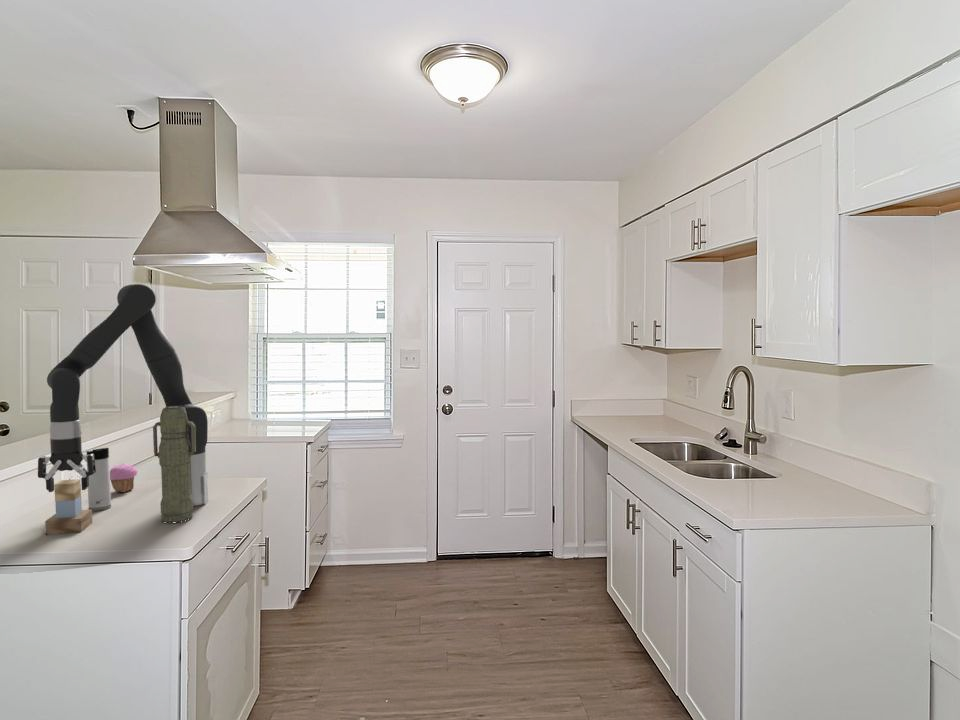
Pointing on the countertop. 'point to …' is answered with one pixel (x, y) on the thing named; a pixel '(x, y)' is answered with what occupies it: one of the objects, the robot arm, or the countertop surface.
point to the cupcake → (123, 477)
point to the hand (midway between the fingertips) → (68, 490)
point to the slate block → (68, 508)
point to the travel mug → (99, 481)
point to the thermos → (175, 463)
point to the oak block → (67, 490)
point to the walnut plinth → (69, 523)
